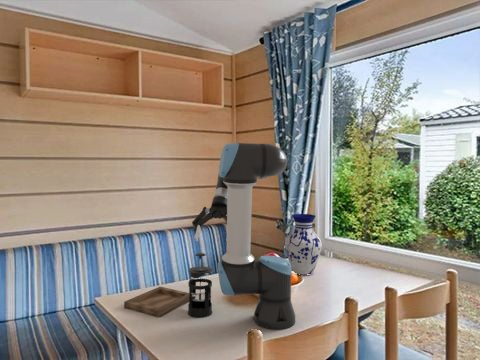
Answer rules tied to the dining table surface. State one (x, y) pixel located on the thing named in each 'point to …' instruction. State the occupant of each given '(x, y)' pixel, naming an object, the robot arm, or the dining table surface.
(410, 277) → the dining table surface
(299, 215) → the vase
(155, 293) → the walnut tray
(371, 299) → the dining table surface
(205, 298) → the french press
